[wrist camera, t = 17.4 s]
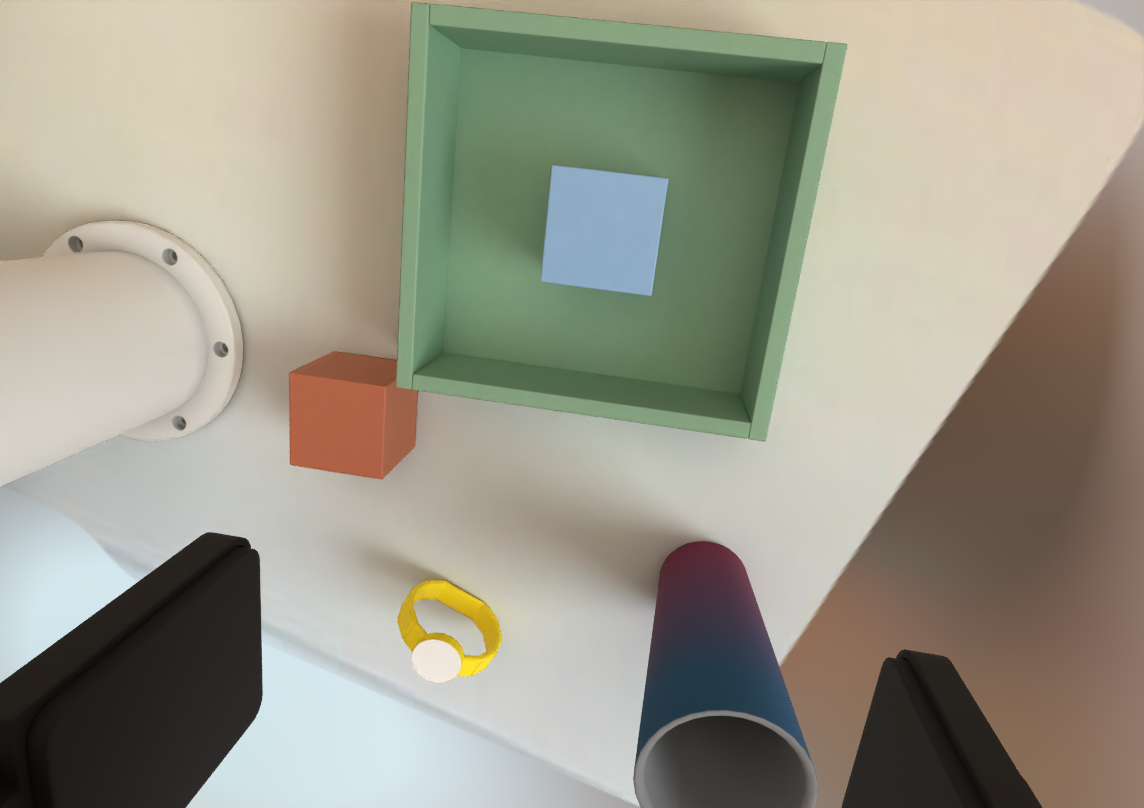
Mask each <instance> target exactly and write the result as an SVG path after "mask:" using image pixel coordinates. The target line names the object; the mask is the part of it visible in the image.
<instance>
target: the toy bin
mask: <svg viewBox="0 0 1144 808" xmlns="http://www.w3.org/2000/svg"><path fill="white" fill-rule="evenodd" d="M846 49H847V44H844V43H834V42H827V43H826V42H823V41H812V40H802V39H792V38H781V37H771V36H761V35H750V34H740V33H730V32H719V31H709V30H699V29H688V28H678V27H668V26H657V25H647V24H637V23H626V22H616V21H606V20H595V19H585V18H575V17H564V16H554V15H544V14H533V13H523V12H513V11H502V10H492V9H482V8H471V7H461V6H451V5H440V4H428V3H418V2H413V3H412V4H411V25H410V50H409V75H408V100H407V125H406V150H405V175H404V200H403V225H402V250H401V275H400V300H399V325H398V350H397V375H396V387H398V388H405V389H413V390H418V391H425V392H432V393H438V394H445V395H452V396H459V397H466V398H472V399H479V400H486V401H493V402H500V403H507V404H513V405H520V406H527V407H534V408H541V409H548V410H554V411H561V412H568V413H575V414H582V415H589V416H595V417H602V418H609V419H616V420H623V421H630V422H636V423H643V424H650V425H657V426H664V427H671V428H677V429H684V430H691V431H698V432H705V433H712V434H718V435H725V436H732V437H739V438H748V439H751V440H758V441H766V437H767V432H768V428H769V423H770V418H771V413H772V408H773V403H774V398H775V394H776V389H777V384H778V379H779V374H780V369H781V364H782V360H783V355H784V350H785V345H786V340H787V335H788V331H789V326H790V321H791V316H792V311H793V306H794V301H795V297H796V292H797V287H798V282H799V277H800V272H801V267H802V263H803V258H804V253H805V248H806V243H807V238H808V234H809V229H810V224H811V219H812V214H813V209H814V204H815V200H816V195H817V190H818V185H819V180H820V175H821V170H822V166H823V161H824V156H825V151H826V146H827V141H828V137H829V132H830V127H831V122H832V117H833V112H834V107H835V103H836V98H837V93H838V88H839V83H840V78H841V73H842V69H843V64H844V59H845V54H846ZM552 165H559V166H567V167H576V168H585V169H593V170H602V171H611V172H619V173H628V174H637V175H645V176H654V177H663V178H668V186H667V193H666V200H665V207H664V213H663V220H662V227H661V234H660V241H659V248H658V255H657V261H656V268H655V275H654V282H653V289H652V295H651V296H646V295H638V294H630V293H623V292H615V291H607V290H600V289H592V288H584V287H577V286H569V285H561V284H554V283H546V282H541V270H542V259H543V249H544V239H545V229H546V219H547V209H548V198H549V188H550V178H551V168H552Z"/></svg>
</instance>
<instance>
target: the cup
mask: <svg viewBox="0 0 1144 808" xmlns="http://www.w3.org/2000/svg"><path fill="white" fill-rule="evenodd" d="M816 778H817V777H816V774H815V771H814V767H813V764H812V761H811V758H810V755H809V752H808V749H807V746H806V743H805V741H804V738H803V735H802V732H801V729H800V726H799V723H798V720H797V717H796V715H795V712H794V709H793V706H792V703H791V700H790V697H789V694H788V691H787V688H786V686H785V683H784V680H783V677H782V674H781V671H780V668H779V665H778V662H777V659H776V657H775V654H774V651H773V648H772V645H771V642H770V639H769V636H768V633H767V630H766V628H765V625H764V622H763V619H762V616H761V613H760V610H759V607H758V604H757V601H756V599H755V596H754V593H753V590H752V587H751V584H750V581H749V578H748V575H747V572H746V570H745V567H744V565H743V563H742V562H741V560H740V559H739V558H738V557H737V555H736V554H734V553H733V552H732V551H731V550H729V549H728V548H726V547H724V546H722V545H719V544H715V543H711V542H694V543H690V544H686V545H684V546H682V547H680V548H678V549H677V550H675V551H674V552H672V553H671V554H670V555H669V556H668V558H667V559H666V560H665V562H664V564H663V566H662V569H661V571H660V578H659V586H658V593H657V601H656V609H655V616H654V624H653V631H652V639H651V647H650V654H649V662H648V669H647V677H646V685H645V692H644V700H643V707H642V715H641V723H640V730H639V738H638V745H637V753H636V761H635V769H634V778H633V780H634V787H635V794H636V796H637V799H638V802H639V804H640V807H641V808H814V805H815V800H816V795H817V779H816Z"/></svg>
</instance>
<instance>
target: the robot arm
mask: <svg viewBox="0 0 1144 808" xmlns="http://www.w3.org/2000/svg"><path fill="white" fill-rule="evenodd" d="M242 365H243V338H242V332H241V326H240V321H239V318H238V315H237V312H236V309H235V307H234V304H233V301H232V299H231V297H230V295H229V293H228V292H227V290H226V288H225V286H224V284H223V282H222V281H221V279H220V278H219V277H218V275H217V274H216V273H215V272H214V270H213V269H212V268H211V266H210V265H209V264H208V263H207V262H206V261H205V260H204V259H203V258H202V257H201V256H200V255H199V254H198V253H197V252H196V251H195V250H194V249H193V248H192V247H190V246H189V245H187V244H186V243H184V242H183V241H181V240H180V239H178V238H177V237H175V236H174V235H172V234H170V233H168V232H166V231H163V230H161V229H159V228H157V227H154V226H152V225H147V224H143V223H139V222H134V221H113V220H112V221H101V222H91V223H88V224H85V225H82V226H79V227H76V228H73V229H71V230H70V231H68V232H66V233H65V234H63V235H62V236H60V237H58V238H57V239H56V240H55V241H54V242H53V243H52V244H51V245H50V246H49V247H48V248H47V249H46V250H45V251H44V253H43V255H42V256H41V257H35V258H25V259H15V260H5V261H0V487H1V486H3V485H6V484H8V483H10V482H12V481H15V480H17V479H19V478H22V477H24V476H26V475H28V474H31V473H33V472H35V471H37V470H40V469H42V468H44V467H47V466H49V465H51V464H53V463H56V462H58V461H60V460H62V459H65V458H67V457H69V456H72V455H74V454H76V453H78V452H81V451H83V450H85V449H87V448H90V447H92V446H94V445H97V444H99V443H101V442H103V441H106V440H108V439H110V438H112V437H115V436H117V435H119V436H123V437H127V438H131V439H135V440H143V441H163V440H170V439H175V438H178V437H181V436H184V435H186V434H189V433H192V432H193V431H195V430H197V429H199V428H201V427H203V426H205V425H206V424H208V423H209V422H210V421H212V420H213V419H214V418H215V417H216V416H218V415H219V414H220V413H221V412H222V410H223V409H224V408H225V406H226V405H227V404H228V402H229V401H230V400H231V398H232V396H233V394H234V392H235V389H236V387H237V385H238V383H239V379H240V374H241V369H242ZM261 701H262V647H261V597H260V558H259V554H258V552H257V551H256V550H255V549H251V545H250V543H249V541H248V540H247V539H245V538H242V537H236V536H230V535H224V534H218V533H212V532H207V533H205V534H203V535H201V536H200V537H199V538H197V539H196V540H195V541H193V542H192V543H190V544H189V545H188V546H186V547H185V548H184V549H182V550H181V551H180V552H178V553H177V554H176V555H174V556H173V557H171V558H170V559H169V560H167V561H166V562H165V563H163V564H162V565H161V566H159V567H158V568H156V569H155V570H154V571H152V572H151V573H150V574H148V575H147V576H146V577H144V578H143V579H141V580H140V581H139V582H137V583H136V584H135V585H133V586H132V587H131V588H129V589H128V590H127V591H125V592H124V593H123V594H121V595H120V596H118V597H117V598H116V599H114V600H113V601H111V602H110V603H109V604H107V605H106V606H105V607H104V608H102V609H101V610H99V611H98V612H96V613H95V614H94V615H92V616H91V617H90V618H88V619H87V620H86V621H84V622H83V623H82V624H80V625H79V626H78V627H76V628H75V629H73V630H72V631H71V632H69V633H68V634H67V635H65V636H64V637H63V638H61V639H60V640H58V641H57V642H56V643H54V644H53V645H52V646H50V647H49V648H47V649H46V650H45V651H44V652H42V653H41V654H39V655H38V656H37V657H35V658H34V659H33V660H31V661H30V662H28V663H27V664H26V665H24V666H23V667H22V668H20V669H19V670H17V671H16V672H15V673H14V674H12V675H11V676H9V677H8V678H7V679H5V680H4V681H2V682H1V683H0V808H186V806H187V805H188V804H189V802H190V801H191V800H192V799H193V797H194V796H195V795H196V794H197V792H198V791H199V790H200V788H201V787H202V786H203V784H204V783H205V782H206V781H207V779H208V778H209V777H210V776H211V774H212V773H213V772H214V771H215V769H216V768H217V767H218V766H219V764H220V763H221V762H222V760H223V759H224V758H225V757H226V755H227V754H228V753H229V751H230V750H231V749H232V748H233V746H234V745H235V744H236V743H237V741H238V740H239V739H240V737H241V736H242V735H243V734H244V732H245V731H246V730H247V728H248V727H249V726H250V724H251V723H252V722H253V721H254V719H255V718H256V715H257V713H258V711H259V708H260V705H261ZM842 808H1042V807H1041V805H1040V803H1039V802H1038V800H1037V798H1036V797H1035V795H1034V793H1033V792H1032V790H1031V789H1030V787H1029V785H1028V784H1027V782H1026V781H1025V780H1024V779H1023V777H1022V776H1021V775H1020V773H1019V772H1018V770H1017V769H1016V767H1015V765H1014V764H1013V762H1012V760H1011V759H1010V757H1009V755H1008V754H1007V752H1006V751H1005V749H1004V747H1003V746H1002V744H1001V742H1000V741H999V739H998V737H997V736H996V734H995V733H994V731H993V730H992V728H991V726H990V724H989V723H988V721H987V720H986V718H985V716H984V715H983V713H982V712H981V710H980V708H979V707H978V705H977V703H976V702H975V700H974V698H973V697H972V695H971V693H970V692H969V690H968V689H967V687H966V685H965V684H964V682H963V681H962V679H961V677H960V676H959V674H958V672H957V671H956V669H955V667H954V666H953V664H952V662H951V661H950V660H949V659H948V658H947V657H944V656H940V655H934V654H928V653H922V652H916V651H910V650H905V649H904V650H902V651H900V652H899V654H898V655H897V657H896V659H895V658H886V659H885V661H884V662H883V665H882V668H881V672H880V675H879V678H878V682H877V685H876V689H875V692H874V696H873V699H872V703H871V706H870V710H869V713H868V717H867V720H866V723H865V727H864V730H863V734H862V737H861V741H860V744H859V748H858V751H857V755H856V759H855V762H854V766H853V769H852V772H851V776H850V779H849V783H848V786H847V790H846V793H845V797H844V800H843V804H842Z"/></svg>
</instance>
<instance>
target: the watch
mask: <svg viewBox="0 0 1144 808" xmlns="http://www.w3.org/2000/svg"><path fill="white" fill-rule="evenodd" d="M420 599H436V600H438V601H440V602H442V603H444V604H446V605H447V606H449V607H451V608H453V609H455V610H456V611H458V612H460V613H462V614H464V615H466V616H467V617H469V618H471V619H472V620H473V621H474V622H475V624H476V625H477V627H478V628H479V630H480V631H481V632H482V634H483V637H484V641H485V646H486V652H485V653H483V654H481V655H479V656H471V655H464V652H463V649H462V647H461V645H460V644H459V643H458V641H456V640H455V639H454V638H453V637H451V636H449V635H446V634H443V633H430V634H427V633H426V632H425V630H424V629H423V628H422V627H421V626H420V624H419V623H418V620H417V617H416V614H415V610H414V607H413V605H414V603H415V602H417V601H419V600H420ZM398 625H399V628H400V632H401V636H402V639H404V642H405V643H406V644H407V646H408V647H409V648H410V649H411V651H412V664H413V667H414V669H415V670H416V671H417V673H418V674H419V675H420V676H422V677H423V678H424V679H427V680H429V681H431V682H438V683H442V682H448V681H450V680H452V679H454V678H455V677H456V676H473V675H475V674H476V673H478V672H480V671H482V670H484V669H485V668H486V667H487V666H488V664H489V663H490V662H491V660H492V659H493V658H494V656H495V655H496V653H497V652H498V649H499V646H500V643H501V641H502V635H501V631H500V627H499V623H498V620H497V618H496V617H495V615H494V614H493V612H492V611H491V610H490V608H489V607H488V606H487V604H486V603H484V602H482V601H480V600H479V599H477V598H475V597H473V596H471V595H470V594H468V593H466V592H464V591H462V590H461V589H459V588H457V587H455V586H453V585H452V584H450V583H449V581H445V580H428V581H424V582H422V583H421V584H419V585H417V586H415V587H414V588H413V589H412V590H411V591H410V593H409V594H408V596H407V598H406V599H405V601H404V602H403V604H402V606H401V609H400V612H399V615H398Z"/></svg>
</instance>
